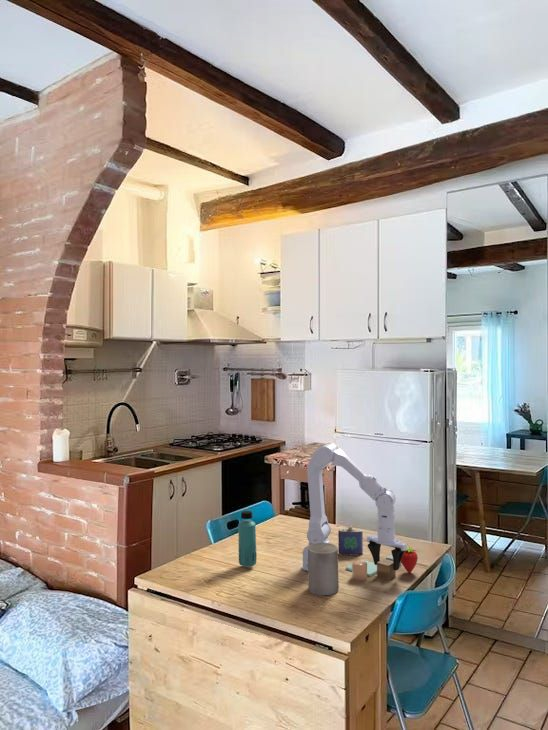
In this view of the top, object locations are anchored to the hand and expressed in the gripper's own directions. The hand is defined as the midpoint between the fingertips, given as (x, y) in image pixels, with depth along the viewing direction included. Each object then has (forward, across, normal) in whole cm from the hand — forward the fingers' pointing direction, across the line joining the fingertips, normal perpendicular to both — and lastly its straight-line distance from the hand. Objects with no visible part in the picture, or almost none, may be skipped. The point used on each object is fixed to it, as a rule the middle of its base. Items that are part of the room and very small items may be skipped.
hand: (386, 566), depth 191 cm
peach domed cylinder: (+3, +6, +7) cm, 10 cm away
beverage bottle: (+3, +41, +26) cm, 49 cm away
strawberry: (+4, -4, -8) cm, 10 cm away
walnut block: (+3, 0, 0) cm, 3 cm away
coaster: (+3, +9, -1) cm, 10 cm away
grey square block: (+3, +4, -11) cm, 12 cm away
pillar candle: (+3, +9, +23) cm, 25 cm away
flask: (+3, +22, -10) cm, 25 cm away
